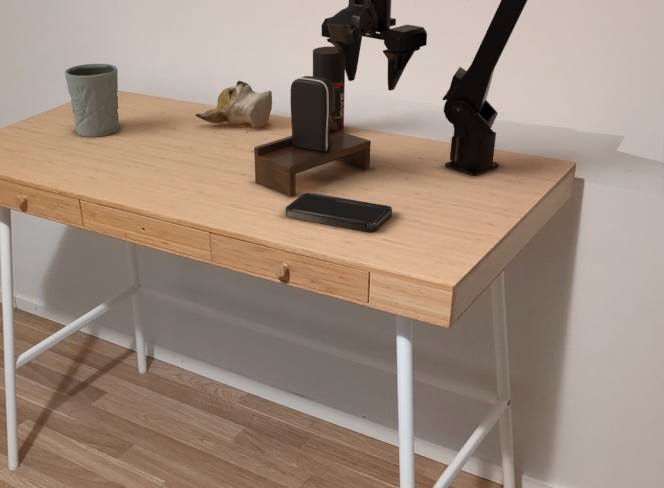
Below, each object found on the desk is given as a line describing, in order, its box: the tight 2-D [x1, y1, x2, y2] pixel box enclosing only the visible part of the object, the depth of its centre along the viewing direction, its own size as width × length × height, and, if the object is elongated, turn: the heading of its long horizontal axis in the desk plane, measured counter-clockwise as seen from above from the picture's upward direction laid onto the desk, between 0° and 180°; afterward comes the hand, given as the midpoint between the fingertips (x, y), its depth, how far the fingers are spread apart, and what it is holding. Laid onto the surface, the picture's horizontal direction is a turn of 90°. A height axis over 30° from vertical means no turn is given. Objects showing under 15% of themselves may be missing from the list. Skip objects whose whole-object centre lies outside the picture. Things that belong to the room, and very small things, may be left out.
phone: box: [285, 192, 393, 233], centre depth 137 cm, size 8×1×15 cm
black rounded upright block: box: [290, 75, 335, 152], centre depth 146 cm, size 7×4×11 cm, turn 50°
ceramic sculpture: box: [195, 80, 273, 128], centre depth 177 cm, size 11×9×15 cm
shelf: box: [253, 123, 372, 198], centre depth 150 cm, size 9×18×6 cm, turn 127°
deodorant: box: [312, 45, 346, 132], centre depth 168 cm, size 6×6×15 cm
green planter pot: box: [64, 63, 120, 138], centre depth 177 cm, size 10×10×12 cm
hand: (370, 85), depth 151 cm, fingers open, 9 cm apart
